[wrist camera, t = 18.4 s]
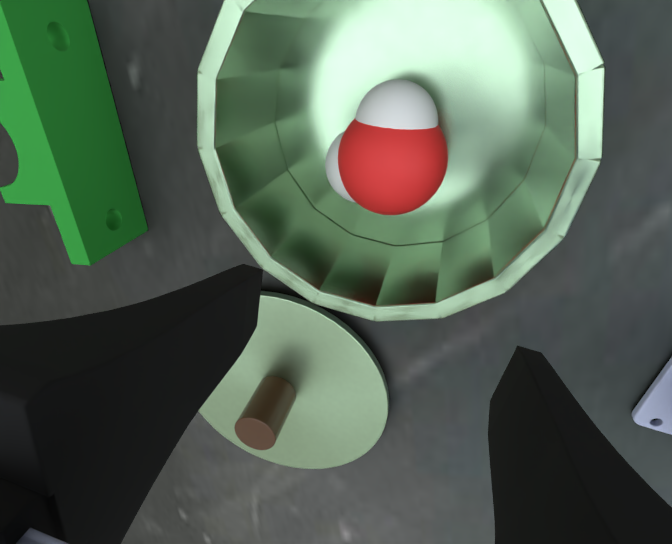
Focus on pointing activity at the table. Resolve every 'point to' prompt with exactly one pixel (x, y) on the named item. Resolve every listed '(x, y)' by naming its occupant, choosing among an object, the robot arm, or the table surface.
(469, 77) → the pot
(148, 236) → the table surface
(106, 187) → the pipe clamp
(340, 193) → the molecule
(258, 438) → the pot lid
